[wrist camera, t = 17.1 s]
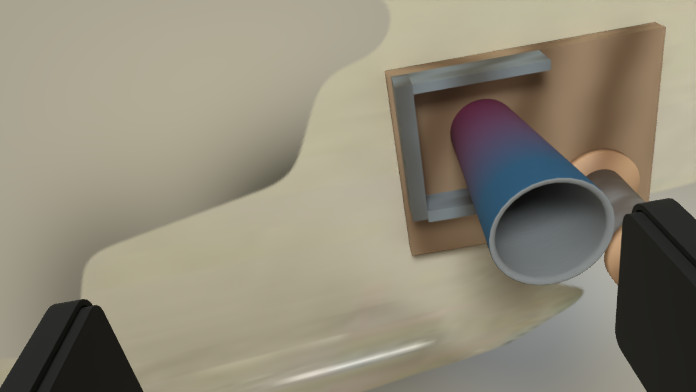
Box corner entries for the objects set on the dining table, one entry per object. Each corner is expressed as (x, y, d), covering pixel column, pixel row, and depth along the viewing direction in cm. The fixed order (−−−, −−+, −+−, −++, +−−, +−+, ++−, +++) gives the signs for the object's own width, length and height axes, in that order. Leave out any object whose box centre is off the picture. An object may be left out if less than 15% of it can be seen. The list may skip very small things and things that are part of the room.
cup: (471, 70, 43) (541, 156, 29) (545, 112, 44) (642, 211, 31) (421, 146, 45) (464, 257, 32) (492, 183, 47) (561, 302, 34)
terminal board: (655, 22, 43) (758, 69, 33) (638, 207, 51) (717, 291, 41) (384, 70, 44) (405, 131, 34) (409, 245, 52) (432, 337, 42)
